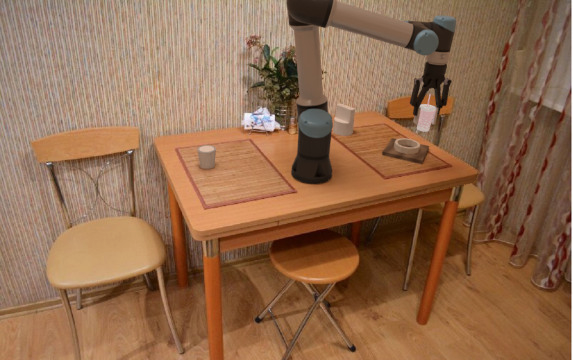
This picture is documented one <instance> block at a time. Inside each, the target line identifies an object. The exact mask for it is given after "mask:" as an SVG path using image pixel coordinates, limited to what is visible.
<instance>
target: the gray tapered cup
mask: <svg viewBox="0 0 573 360" xmlns="http://www.w3.org/2000/svg"><path fill="white" fill-rule="evenodd" d="M196 150H197V158H198V162H199V167H200V168H201V169H203V170H211V169H213V168H215V167H216V166H215V165H216V155H217V154H216V151H217V148H216V146H214V145H212V144H211V145H210V144H202V145H200V146H198V147H197V149H196Z"/></svg>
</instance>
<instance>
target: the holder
mask: <svg viewBox="0 0 573 360" xmlns="http://www.w3.org/2000/svg"><path fill="white" fill-rule="evenodd" d="M397 139H398V138H393V137H392V138H391V139H390V140H389V141H388V143H387V144H386V146H385V148H384V149H383V150H382V156H385V157H387V158H388V157H389V158H393V159H398V160H402V161H407V162H411V163H415V164H421V165H422V164H423V162H424V161H425V157H426V155H427V153H428V151H429V149H430V145H426V144H421V143H419V144H420V149H419V152H418V153H415V154H405V153H400V152H398V151H396V150H395V148H394V143H395V141H396V140H397ZM401 146H404V147H412V146H409V145H401Z"/></svg>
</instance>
